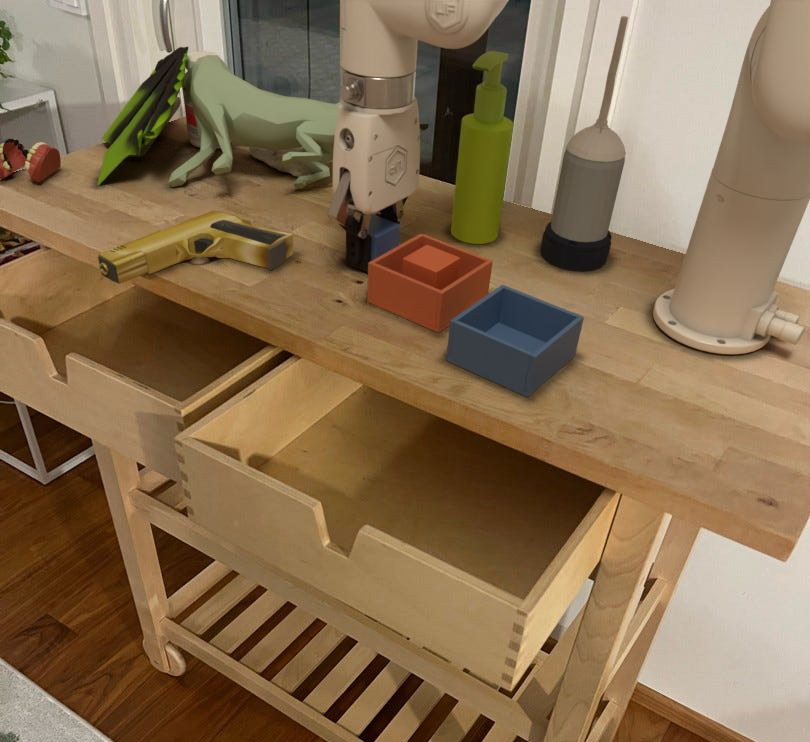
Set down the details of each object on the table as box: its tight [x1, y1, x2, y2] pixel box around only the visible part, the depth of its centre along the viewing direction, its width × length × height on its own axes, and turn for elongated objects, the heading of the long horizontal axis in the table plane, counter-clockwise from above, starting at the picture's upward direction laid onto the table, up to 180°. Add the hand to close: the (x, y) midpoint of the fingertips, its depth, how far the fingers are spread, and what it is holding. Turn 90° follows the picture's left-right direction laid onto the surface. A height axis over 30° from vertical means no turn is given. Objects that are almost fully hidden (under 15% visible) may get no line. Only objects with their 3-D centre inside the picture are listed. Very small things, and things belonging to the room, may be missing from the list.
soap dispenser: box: [450, 50, 514, 245], centre depth 95 cm, size 6×7×20 cm
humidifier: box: [539, 15, 629, 272], centre depth 91 cm, size 8×8×25 cm
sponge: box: [248, 147, 323, 178], centre depth 114 cm, size 12×5×4 cm
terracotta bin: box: [366, 233, 494, 334], centre depth 89 cm, size 10×10×4 cm
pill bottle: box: [181, 50, 233, 150], centre depth 114 cm, size 6×6×11 cm
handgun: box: [97, 210, 295, 285], centre depth 92 cm, size 2×19×12 cm
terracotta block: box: [402, 245, 460, 290], centre depth 89 cm, size 4×4×4 cm
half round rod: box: [129, 96, 182, 158], centre depth 119 cm, size 4×20×2 cm, turn 179°
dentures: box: [0, 137, 62, 183], centre depth 106 cm, size 6×4×8 cm
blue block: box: [356, 213, 401, 261], centre depth 94 cm, size 4×4×4 cm
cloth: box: [97, 46, 189, 187], centre depth 109 cm, size 20×22×2 cm
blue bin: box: [445, 284, 585, 398], centre depth 82 cm, size 10×10×4 cm
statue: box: [168, 54, 341, 190], centre depth 109 cm, size 27×13×20 cm
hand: (372, 257), depth 96 cm, fingers closed on blue block, 4 cm apart
